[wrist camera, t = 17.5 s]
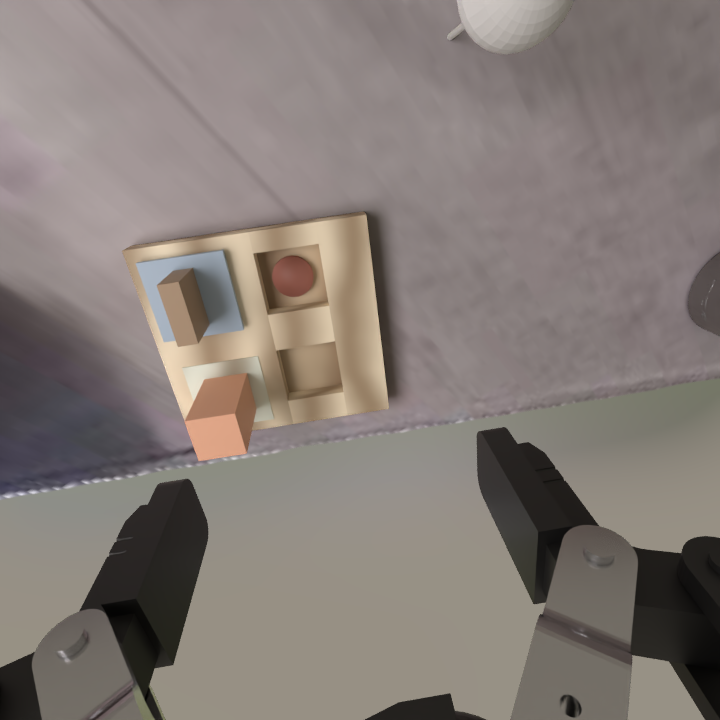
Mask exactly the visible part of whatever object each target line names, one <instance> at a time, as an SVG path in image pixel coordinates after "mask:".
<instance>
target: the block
mask: <svg viewBox="0 0 720 720" xmlns="http://www.w3.org/2000/svg"><path fill="white" fill-rule="evenodd" d="M256 409H257V408H256V404H255V401H254V397H253V393H252V390H251V386H250V382H249V379H248V375H247V373H242V374H236V375H229V376H223V377H216V378H210V379H204V381H203V383H202V385H201V387H200V389H199V392H198V394H197V396H196V398H195V400H194V402H193V404H192V406H191V409H190V411H189V413H188V415H187V417H186V419H185V424H186V427H187V430H188V432H189V435H190V438H191V441H192V443H193V446H194V449H195V452H196V454H197V457H198V460H199V461H202V460H208V459H215V458H221V457H227V456H234V455H240V454H246V453H247V450H248V446H249V441H250V436H251V432H252V427H253V423H254V418H255V414H256Z"/></svg>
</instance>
